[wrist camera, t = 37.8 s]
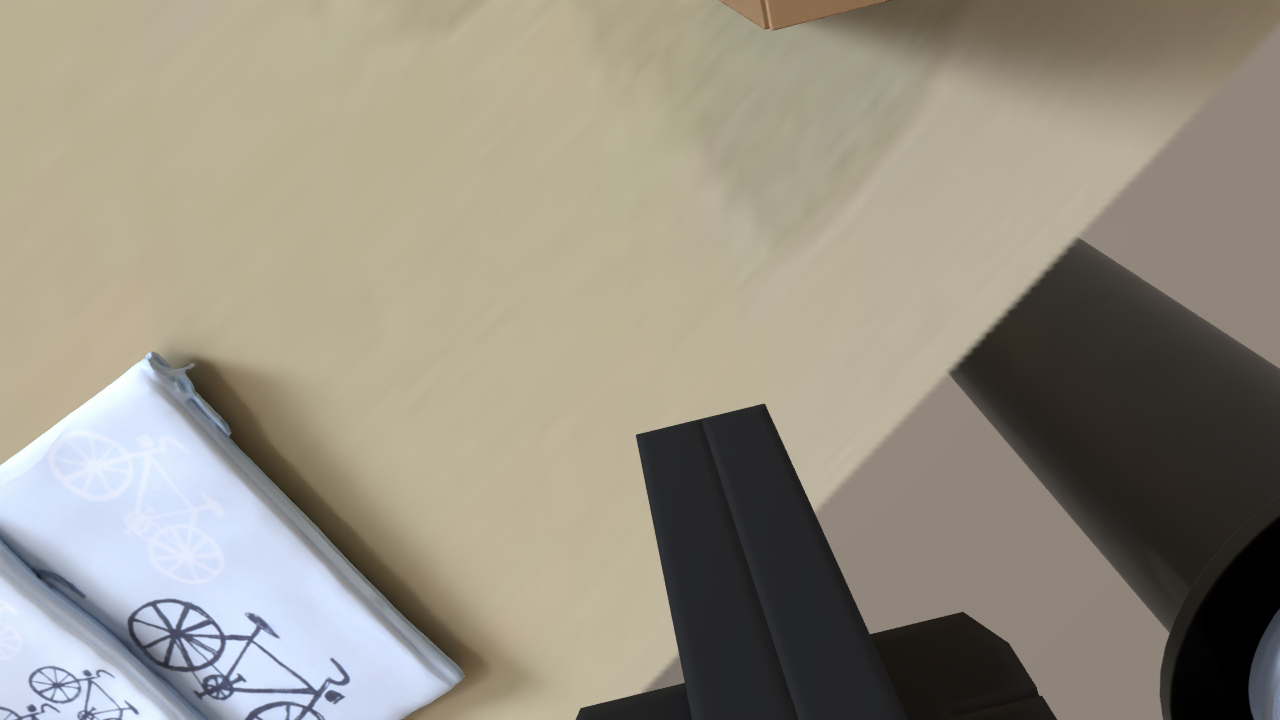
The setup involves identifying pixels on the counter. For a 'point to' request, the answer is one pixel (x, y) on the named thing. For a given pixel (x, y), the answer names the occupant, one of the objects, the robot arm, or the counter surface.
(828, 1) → the flap
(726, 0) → the carton
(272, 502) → the snack bag
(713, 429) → the robot arm
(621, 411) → the counter surface
